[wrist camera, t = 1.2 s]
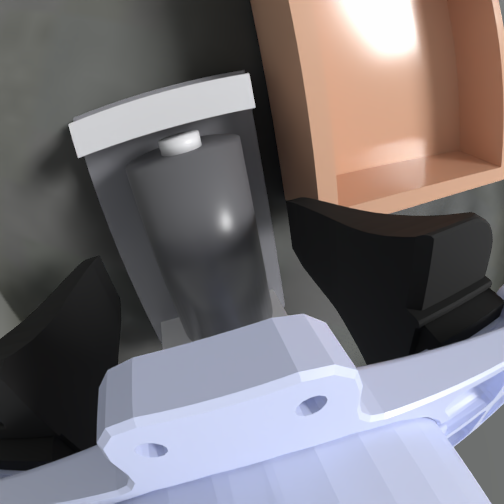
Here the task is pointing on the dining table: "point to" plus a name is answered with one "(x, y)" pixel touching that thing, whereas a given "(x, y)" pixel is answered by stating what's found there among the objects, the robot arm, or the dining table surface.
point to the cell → (203, 230)
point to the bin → (384, 98)
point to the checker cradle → (146, 139)
